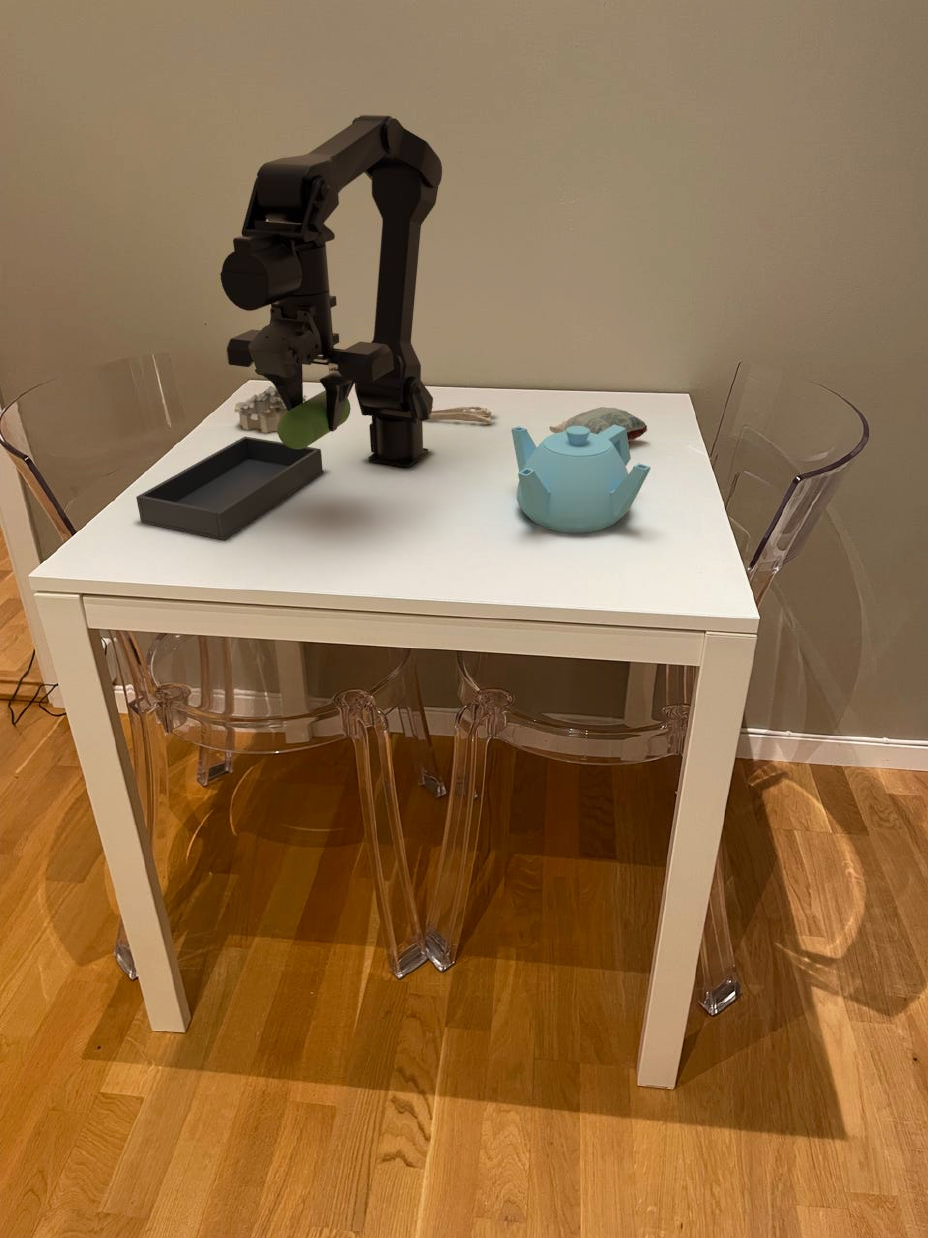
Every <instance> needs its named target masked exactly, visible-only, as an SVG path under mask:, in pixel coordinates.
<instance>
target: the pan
mask: <svg viewBox="0 0 928 1238" xmlns="http://www.w3.org/2000/svg"><path fill="white" fill-rule="evenodd" d="M322 459H323V458H322V449H321V448H319V447H318V448H317V447H313V446H312V447H311V446H307V447H305V448H303V449H293V448H289V447H287V446H286V445H285V444H284V443H282V441H275V440H269V439H263V438H257V437H251V436H243V437H241V438H240V439H238V440H235V441H234V442H232V443H231V444H228V445H227V446H225V447H223V448H221V449H220V450H218V451H216V452H214V453H212V454H210V455H209V456H207V457H205V458H203V459H201V460H200V461H198V462H196V463H194V464H192V465H191V466H189V467H187V468H185V469H184V470H181V471H180V472H178V473H176V474H174V475H173V476H171V477H169V478H167V479H166V480H164V481H162V482H160V483H159V484H156V485H155V486H153V487H151V488H149V489H148V490H146V491H143V492H142V493H140V494H139V495H137V496H136V497H135V499H136V503H137V507H138V508H137V509H138V514H139V519H140V523H142V524H147V525H150V526H156V527H161V528H166V529H170V530H173V531H178V532H184V533H188V534H193V535H198V536H202V537H208V538H211V539H212V538H213V539H217V540H220V541H221V540H222V541H225V540H227V539H228V538H229V537H231V536H232V535H234V534H235V533H237V532H239V531H240V530H241V529H243V528H245V526H247V525H249V524H250V523H252V522H253V521H254V520H256V519H257V518H259V517H260V516H262V515H263V514H265V513H266V512H268V511H269V510H271V509H272V508H273V507H276V505H278V504H279V503H281V502H283V501H284V500H285V499H287V498H288V497H289V496H291V495H293V494H294V493H295V492H297V491H299V490H300V489H301V488H303V487H305V485H307V484H309V483H310V482H311V481H313V480H315V479H317V477H319V476H320V475H322V474H323V473H324V471H323V460H322Z"/></svg>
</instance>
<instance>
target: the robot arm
mask: <svg viewBox="0 0 928 1238" xmlns="http://www.w3.org/2000/svg"><path fill="white" fill-rule="evenodd" d="M442 165H443V164H442V161H441V158H440V157H439V155H437V152H436V151H434V149H433V148H432V146H431V145H430V144H429V142H428V141H427V140H424V139H423V138H422V137H420V136H418V135H416V134H415V133H413V132H411V131H410V130H408V129H406V127H404V126H403V125H402V123H401V122H400V121H399V119H397V118H394V117H393V116H391V115H385V114H384V115H383V114H382V115H381V114H379V115H378V114H361V115H359V116H358V117H355V118H354V119H353V120H352V122H351V124H349V125H348V126H347V127H345V128H343V129H342V130H341V131H339V132H338V133H336V134H334V135H333V136H331V138H330V137H329V139H327V140H326V141H324V142H323V143H321V144H320V145H319V146H317V147H316V148H314V149H313V150H311V151H309V152H308V153H306V154H305V153H304V154H301V155H295V156H294V155H293V156H287V157H281V158H277V159H274V160H271V161H266V162H265V163H263V164H262V165H261V166H260V167H259V169H258V171H257V173H256V177H255V181H254V184H253V187H252V191H251V194H250V199H249V201H248V206H247V209H246V213H245V217H244V221H243V224H242V227H241V231H240V232H241V233H240V234H241V236H236V237H234V238H233V239H232V243H233V251H232V252H230V253H229V254H228V255H227V256H226V258H225V259H224V261H223V263H222V267H221V272H220V273H219V274H220V282H221V286H222V289H223V292H224V293H225V295H226V297H227V298H228V300H229V301H230V302H231V303H232V304H233V305H235V306H236V307H238V308H239V309H241V310H244V311H248V312H251V311H252V312H253V311H257V310H259V309H262V308H265V307H267V306H270V309H269V314H270V318H269V323H268V324H267V325H265V326H264V327H262V328H261V329H250V330H248V331H245V332H243V333H241V334H238V335H236V336H233V337H231V338H229V341H228V343H227V345H226V348H225V350H226V352H225V353H226V359H227V364H228V365H229V366H234V367H235V366H237V367H242V368H243V367H244V368H250V367H252V365H253V364H254V367H255V369H254V372H255V373H256V375H258V376H262V377H264V378H265V379H267V381H269V382H270V383H272V385H273V387H274V388H276V389H277V391H278V393H279V394H280V396H281V398H282V400H283V402H284V404H285V407H286V409H287V411H289V410H291V409H293V408H295V407H296V406H298V405H300V404H302V403H303V397H304V385H303V384H304V383H303V382H304V381H303V379H304V377H303V372H304V371H303V365H305V366H311V365H312V364H314V365H321V366H328V374H327V375H325V376H323V377H321V378H320V379H319V378H318V379H319V382H320V384H321V385H322V387H323V388H324V391H325V390H326V403H327V419H328V424H329V430H330V432H335V431H336V430H338V427H339V426H338V424H339V421H340V418H341V416H342V413H343V410H344V407H345V404H346V401H347V399H348V400H349V395H350V393H351V391H352V389H353V387H354V392H355V395H356V396H355V397H356V398H357V402H358V406H359V410H360V413H361V415H362V416H365V417H366V416H369V417H371V423H370V424H369V425H368V426H369V442H370V452H371V453H372V454H370V455H369V456H368V457H367V460H368V462H372V463H378V464H383V465H390V466H396V467H402V468H411V467H412V466H414V465H415V464H416V463H417V462H419V461H420V460H421V459H422V458H424V457H425V456H426V455H428V454H429V453H430V452H429V448H426V447H424V433H423V432H424V431H423V429H424V428H423V427H424V425H423V422H424V421H429V420H428V419H430V414H431V412H432V411H433V407H434V406H433V404H434V397H433V396H432V395H431V393H430V391H429V390H428V389H427V387H426V385H425V384H424V383H423V381H422V380H421V379H422V365H421V362H420V360H419V357H418V355H417V353H416V351H415V349H414V347H413V345H412V335H413V334H412V333H413V323H414V322H413V321H414V311H415V300H416V299H415V298H416V286H417V275H418V266H419V265H418V264H419V254H420V244H421V243H420V242H421V232H422V231H421V230H422V225H423V223H424V222H425V220H426V219H427V217H428V216H429V215H430V213H431V211H432V210H433V208H434V207H435V206H436V203H437V197H438V192H439V187H440V184H441V182H442V178H443V166H442ZM363 174H365V175H366V176H367V177H368V178H369V179H370V181H371V197H372V199H373V202H374V204H375V206H376V208H377V210H378V212H379V215H380V217H381V221H382V223H381V237H380V248H379V250H380V251H379V260H378V261H379V262H378V275H377V276H378V277H377V288H376V289H377V290H376V299H375V300H376V301H375V316H374V328H373V337H372V340H371V341H370V342H369V341H358V342H355V343H354V344H352V345H351V346H349V347H346V348H335V346H336V345H338V344H340V333H338V332H334V331H333V318H332V308H334V307H336V306H337V305H338V303H337V296H336V295H331V291H330V280H329V278H330V277H329V267H328V265H329V264H328V255H327V253H328V252H327V244H326V243H327V242H330V241H333V240H335V238H336V235H335V232H334V231H333V230H332V229H331V228H330V227H328V226H327V225H326V224H325V223H326V221H327V220H328V219H329V218H330V217H331V215H332V214H333V212H334V211H336V209H337V208H338V207H339V205H340V200H339V199H340V198H339V193H340V192H341V191H342V190H343V189H344V188H346V187H347V186H348V185H349V184H350V183H353V182H354V181H355V180H356V179H358V178H359V177H361V175H363ZM430 420H431V419H430Z"/></svg>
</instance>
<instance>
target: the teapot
mask: <svg viewBox="0 0 928 1238" xmlns="http://www.w3.org/2000/svg"><path fill="white" fill-rule="evenodd" d="M511 436H512V441H513V447H514V451H515V457H516V462H517V468H518V469H517V470H518V473H517V476H518V484H517V488H516V501H517V504H518V506H519V507H520V509H521V511H523V513H524V514H525V515H526V516H527V518H529V519H530V520H531V521H532V522H533V523H534V524H537V525H538V526H540V527H542V528H545V529H548V530H552V531H556V532H562V533H572V534H582V533H583V534H584V533H593V532H598V531H602V530H605V529H608V528H609V527H611V526H613V525H615V524H616V523H617V522H619V520H620V519H622V518H623V517H624V516H625V515H626V514H627V513H628V511H629V510H630V509H631V508H632V506H633V504H634V502H635V499H636V498H637V496H638V494H639V492H640V490H641V488H642V486H643V484H644V482H645V480H646V478H647V477H648V474H649V473H650V471H651V466H649V465H647V464H643V463H640V462H638V463H637V464H634V465H633V466H632V469H631V470H630V471H628V469H627V466H628V464H629V462H630V461H631V459H632V458H631V457H632V456H631V451H630V445H629V442H628V437H627V431H626V428H624V427H621V426H618V425H615V424H614V425H613V426H611V427H609V428H608V429H606V430H604V431H603V432H601V433H600V434H594V433H590V429H588V428H586V427H583V426H571V427H568V428H567V429H566V432H560V433H553V434H550V435H548V436H546V437H545V438H544V439H543V440H542V441H541V442H540V443H539V444H538V446H537V445H536V443H535V442H534V440H533V439H532V437H531V435H530V433H529V432H528V428H526V427H522V426H519V425H518V426H515V427H512V428H511Z"/></svg>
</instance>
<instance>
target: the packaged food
mask: <svg viewBox="0 0 928 1238" xmlns="http://www.w3.org/2000/svg"><path fill="white" fill-rule="evenodd" d="M614 424H615V425H618V426H621V427H624V428H626V431H627V437H628V443H629V442H631V441H634V440H636V439H638V438H640V437H641V436H643V435H644V434H645V433H647V432H648V426H647V424H646V423H645V421H644V420H642V419H640V418H639V417H637V416H635V415H634V414H632V413H630V412H628V411H627V410H622V409H619V408H617V407H605V406H602V407H597V408H592V409H591V410H588V411H584V412H581V413H579V414H576V415H574V416H572V417H569V418H568V419H567V420H563V421H562V422H561V423H558V425H556V426H549V431H550V432H551V433H553V434H556V433H560V432H566V429H567V428H568V427H571V426H583V427H586V428H588V429H590V433H594V434H600V433H601V432H603V431H604V430H606V429H608V428H609V427H611V426H613V425H614Z"/></svg>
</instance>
